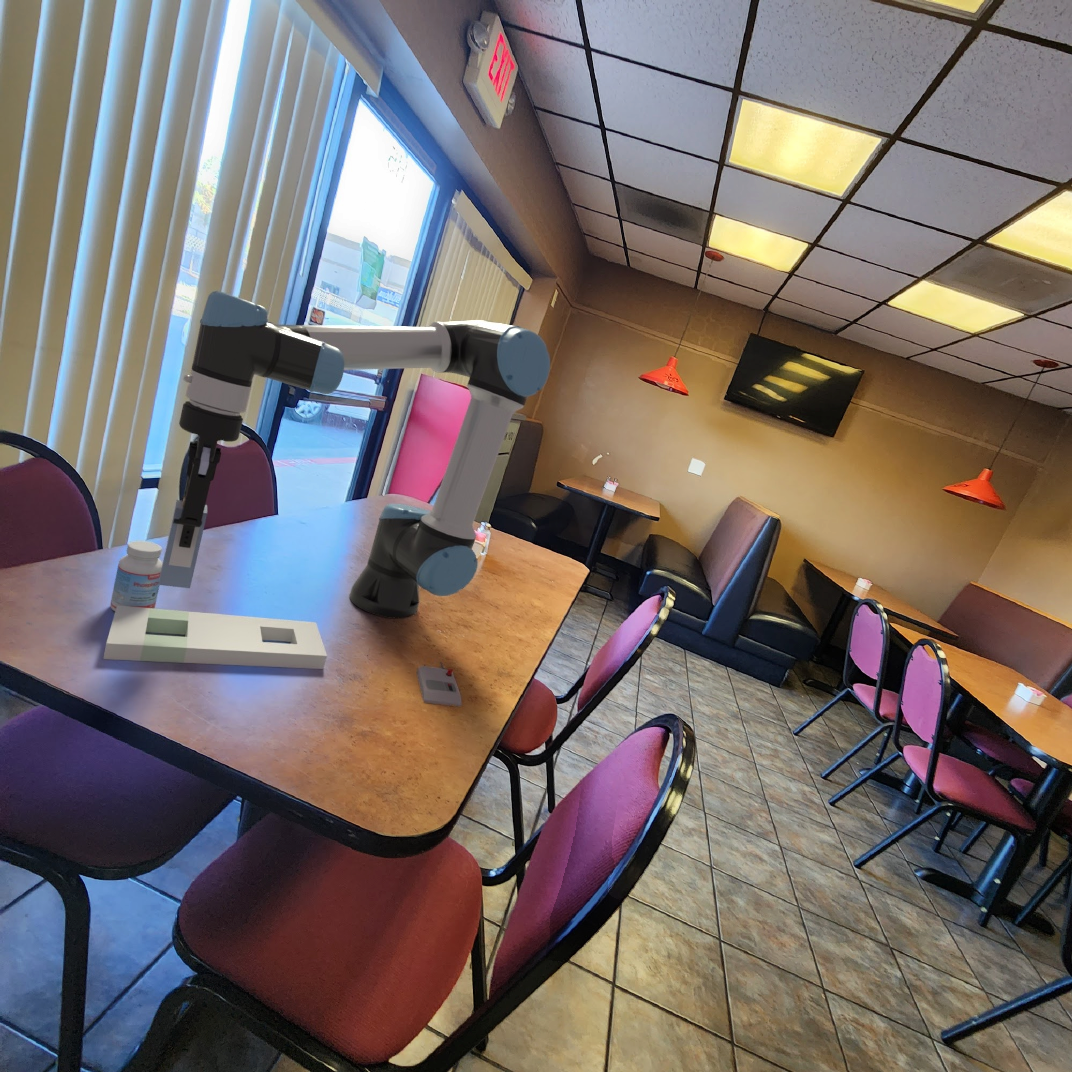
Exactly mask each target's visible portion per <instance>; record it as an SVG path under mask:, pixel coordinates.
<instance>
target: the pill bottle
mask: <svg viewBox="0 0 1072 1072" xmlns="http://www.w3.org/2000/svg"><path fill="white" fill-rule="evenodd" d="M126 547H127V548H126V554H125V555H124V556H122V557H121V558H120V559H119V560H118V564H117V568H116V569H117V570H116V574H115V579H114V583H113V590H112V595H111V600H110V605H109V606H110V609H111V610H112V611H113V612H115V611H116V608H117V605H119V606H131V607H142V608H154V609H156V604H157V599H158V594H159V590H160V586H161V585H159V579H160V573H161V569H162V564H163V560H161V559H160V558H161V555H162V551H163V547H162V546H161V545H159V544H157V543H156V542H153V541H147V540H134V541H130V542H128V544H127V546H126Z"/></svg>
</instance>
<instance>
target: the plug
mask: <svg viewBox="0 0 1072 1072" xmlns="http://www.w3.org/2000/svg"><path fill="white" fill-rule="evenodd" d="M184 500H185V497H184V499H183V501H182V499H181V500H180V499H176V501H175V504H174V505H175V506H174V510H173V513H172V519H171V524H170V528H169V533H168V536H167V541H166V542H167V543H166V547H165V551H164V556H163V559H162V563H163V564H162V569H161V573H160V579H159V585H160V586H163V587H164V586H166V587H167V586H168V587H175V588H185V589H191V585H192V581H193V577H194V572H195V568H196V564H197V561H198V555H199V550H200V547H201V542H202V539H203V533H204V530H205V529H204V528H205V524H206V521H207V516H208V505H207V504H205V508H204V512H203V516H202V525H201V527H200V528H199V532H198V536H197V541H196V545H195V549H194V554H193V558H192V562H191V567H190V568H189V567H181V566H173V565H169V561H170V557H171V552H172V548H173V543H174V539H175V534H176V530H177V525H178V524H175V523H173V522H174V519H179V518H181V514H182V509H183V505H184Z"/></svg>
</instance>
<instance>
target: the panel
mask: <svg viewBox="0 0 1072 1072" xmlns="http://www.w3.org/2000/svg"><path fill="white" fill-rule="evenodd" d="M147 633H155V634H147ZM160 634H167V635H160ZM168 634H171V635H168ZM175 635H176V636H175ZM177 635H182V636H177ZM264 641H265V642H264ZM268 641H273V642H268ZM284 642H287V643H284ZM288 642H290V643H288ZM327 657H328V653H327V652H326V648H325V645H324V643H323V640H322V636H321V633H320V630H319V627H318V624H317V622H313V621H302V620H291V619H290V620H289V619H281V618H280V619H279V618H268V617H267V618H266V617H256V616H246V615H244V616H243V615H233V614H223V613H222V614H221V613H210V612H199V611H186V610H176V609H163V608H155V609H154V608H142V607H131V606H119V605H117V608H116V611H114V615H113V618H112V622H111V626H110V629H109V633H108V636H107V639H106V643H105V648H104V654H103V660H113V661H131V662H132V661H134V662H135V661H137V662H159V663H162V662H163V663H180V664H181V663H182V664H202V665H204V664H206V665H224V666H225V665H226V666H245V667H246V666H247V667H269V668H270V667H271V668H290V669H291V668H292V669H314V670H324V668H325V664H326V661H327Z"/></svg>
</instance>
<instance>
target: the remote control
mask: <svg viewBox="0 0 1072 1072" xmlns="http://www.w3.org/2000/svg"><path fill="white" fill-rule="evenodd" d="M442 662H443V661H440V662H439V664H440V667H436V666H426V664H423V665H422V666H421V665H420V666H418V668H417V671H416V676H418V677H417V681H418V685H419V687H420V693H421V698H422V701H423V703H427V704H434V705H435V704H436V705H442V706H451V705H454V706H453V707H459V706H461V707H462V695H461V692H460V689H459V687H458V684H457V681H456V678H455V676H454V672H453V668H448V669H446V668H445V667H444V665H443V663H442ZM455 705H456V706H455Z"/></svg>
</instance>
